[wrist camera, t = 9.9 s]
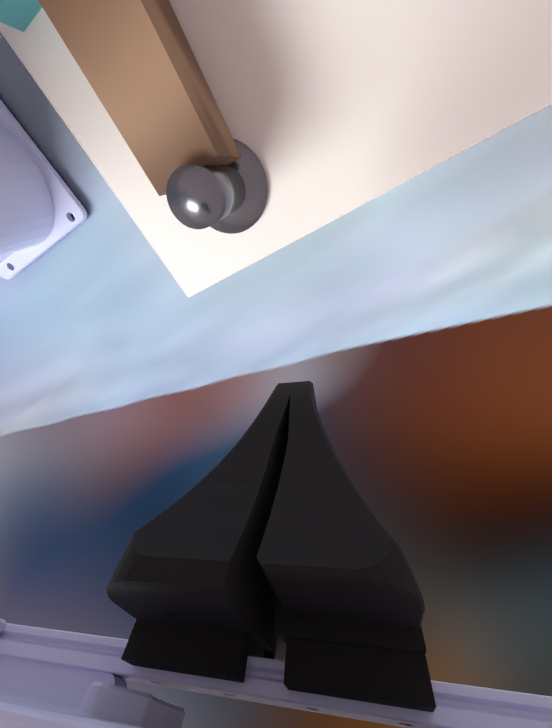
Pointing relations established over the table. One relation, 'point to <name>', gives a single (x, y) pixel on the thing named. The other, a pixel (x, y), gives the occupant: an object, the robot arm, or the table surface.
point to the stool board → (310, 107)
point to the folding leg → (156, 101)
